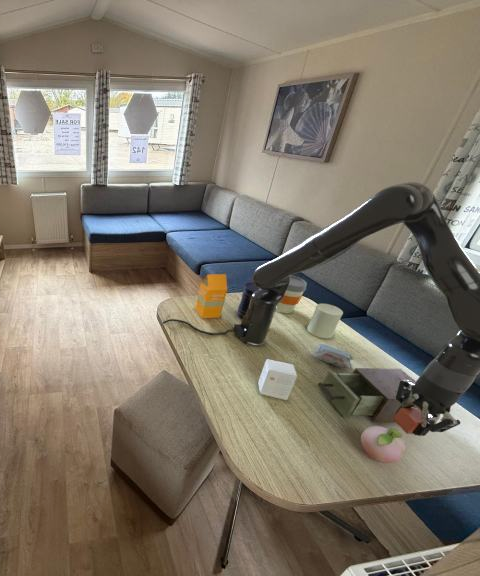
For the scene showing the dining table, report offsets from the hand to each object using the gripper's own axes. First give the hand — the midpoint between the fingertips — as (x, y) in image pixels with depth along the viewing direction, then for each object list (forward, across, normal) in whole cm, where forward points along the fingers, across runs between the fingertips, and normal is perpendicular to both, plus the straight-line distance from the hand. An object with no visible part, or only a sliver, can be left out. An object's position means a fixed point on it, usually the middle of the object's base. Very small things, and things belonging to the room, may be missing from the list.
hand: (408, 425), depth 83 cm
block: (0, 0, 0) cm, 0 cm away
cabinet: (+7, -13, +6) cm, 16 cm away
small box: (+7, -18, -26) cm, 32 cm away
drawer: (+6, -13, -5) cm, 15 cm away
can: (+7, -52, +12) cm, 54 cm away
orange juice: (+8, -65, -32) cm, 73 cm away
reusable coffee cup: (+8, -71, +6) cm, 71 cm away
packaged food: (+7, -33, +4) cm, 34 cm away
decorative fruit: (+7, +4, -10) cm, 13 cm away
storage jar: (+8, -63, -14) cm, 65 cm away
